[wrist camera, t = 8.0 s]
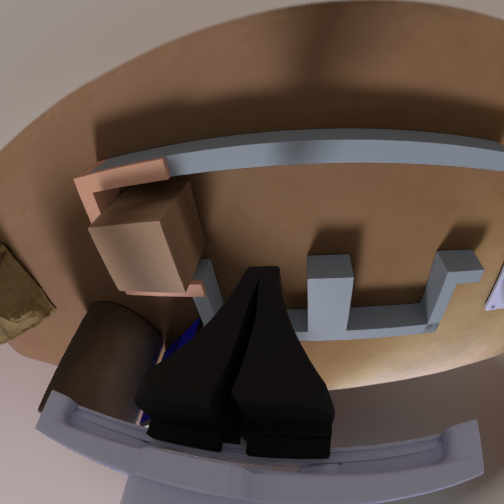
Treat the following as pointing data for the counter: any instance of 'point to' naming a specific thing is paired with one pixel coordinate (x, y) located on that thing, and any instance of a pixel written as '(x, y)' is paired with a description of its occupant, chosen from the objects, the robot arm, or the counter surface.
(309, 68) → the counter surface
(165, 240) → the walnut block
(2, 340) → the rock
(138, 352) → the pillar candle
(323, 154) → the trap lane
